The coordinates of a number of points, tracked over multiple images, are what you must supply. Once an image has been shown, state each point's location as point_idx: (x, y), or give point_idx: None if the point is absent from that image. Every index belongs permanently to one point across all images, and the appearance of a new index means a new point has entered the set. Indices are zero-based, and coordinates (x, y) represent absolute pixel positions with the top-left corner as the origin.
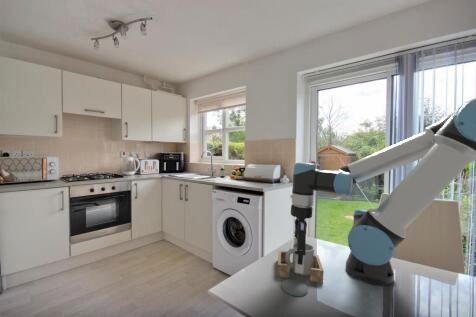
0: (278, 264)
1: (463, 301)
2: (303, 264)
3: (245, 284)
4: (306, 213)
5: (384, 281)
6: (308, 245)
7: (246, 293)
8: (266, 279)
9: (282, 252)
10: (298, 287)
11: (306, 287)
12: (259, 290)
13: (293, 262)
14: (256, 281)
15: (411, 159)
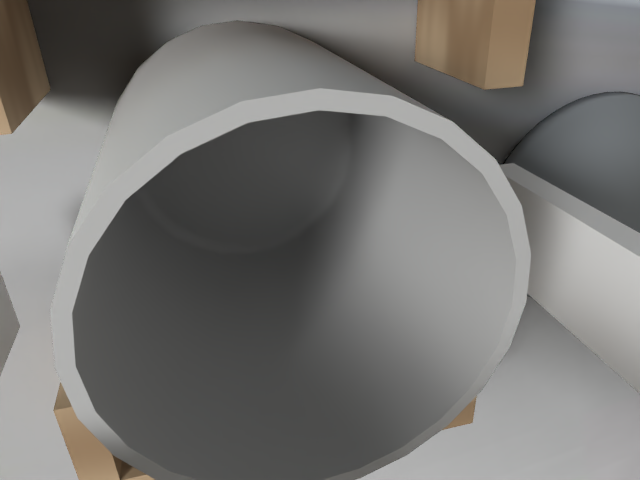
0: (471, 417)
1: None
2: (586, 210)
3: (555, 465)
4: None
5: None
6: (104, 227)
7: (635, 432)
8: (485, 393)
9: (115, 459)
10: (605, 175)
11: (603, 106)
12: (609, 390)
13: (315, 295)
14: (517, 433)
15: None
